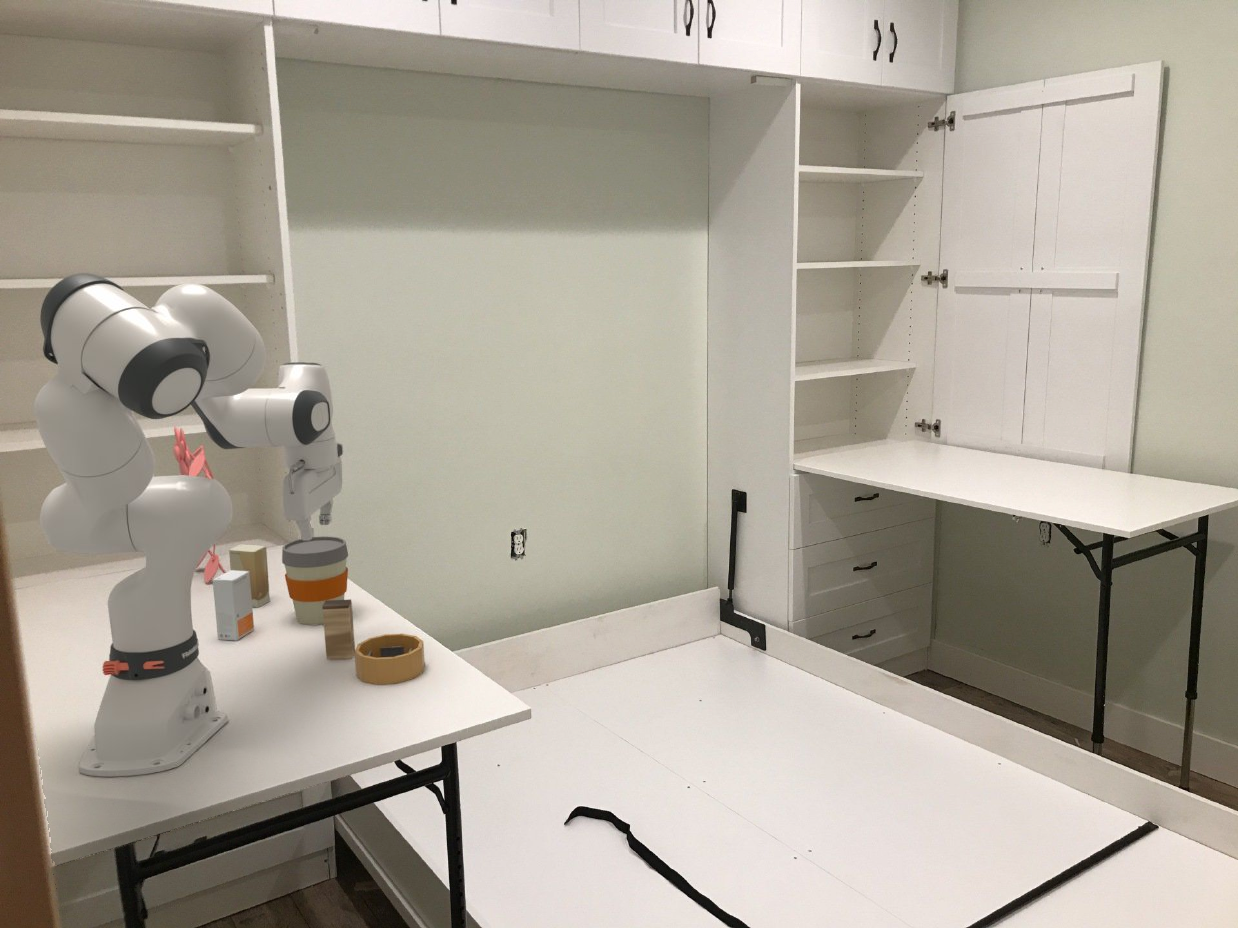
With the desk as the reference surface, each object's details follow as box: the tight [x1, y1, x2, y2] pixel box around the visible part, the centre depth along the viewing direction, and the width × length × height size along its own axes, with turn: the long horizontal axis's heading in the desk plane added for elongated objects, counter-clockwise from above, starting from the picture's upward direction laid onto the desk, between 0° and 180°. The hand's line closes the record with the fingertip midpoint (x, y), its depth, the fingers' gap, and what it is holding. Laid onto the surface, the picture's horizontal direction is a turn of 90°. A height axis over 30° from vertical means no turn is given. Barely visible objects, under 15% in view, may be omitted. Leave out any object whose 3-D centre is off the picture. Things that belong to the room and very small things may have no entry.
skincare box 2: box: [212, 569, 255, 642], centre depth 187 cm, size 6×4×12 cm
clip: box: [368, 646, 412, 658], centre depth 169 cm, size 7×9×3 cm
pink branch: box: [173, 426, 227, 584], centre depth 219 cm, size 15×26×35 cm, turn 31°
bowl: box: [354, 633, 426, 685], centre depth 169 cm, size 11×11×4 cm
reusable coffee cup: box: [281, 535, 349, 626], centre depth 195 cm, size 13×13×15 cm
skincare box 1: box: [228, 543, 271, 608], centre depth 204 cm, size 6×4×12 cm
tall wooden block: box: [322, 598, 356, 660], centre depth 176 cm, size 3×4×10 cm, turn 95°
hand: (317, 531), depth 173 cm, fingers open, 8 cm apart
